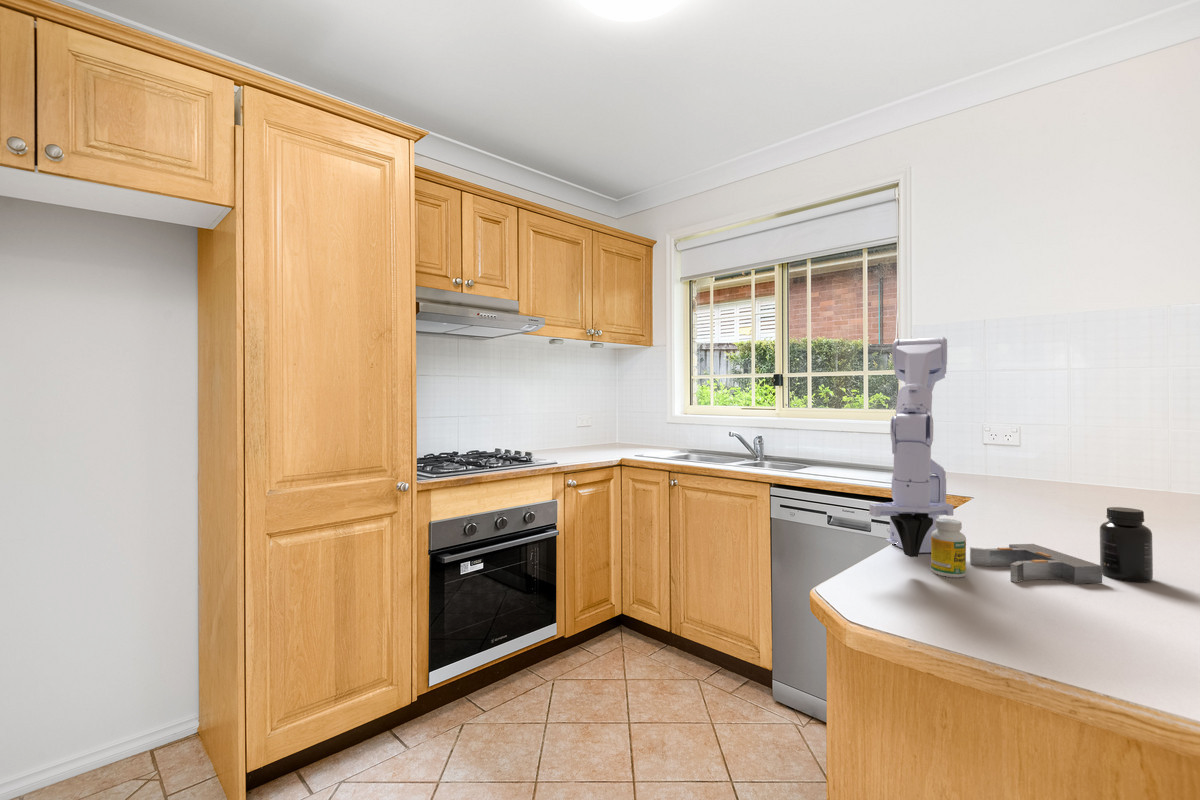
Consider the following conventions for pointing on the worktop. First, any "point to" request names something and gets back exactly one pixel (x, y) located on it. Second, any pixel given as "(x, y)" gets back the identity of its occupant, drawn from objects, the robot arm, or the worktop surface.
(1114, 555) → the supplement bottle
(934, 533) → the supplement bottle
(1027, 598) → the worktop surface
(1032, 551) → the grey pronged bracket
